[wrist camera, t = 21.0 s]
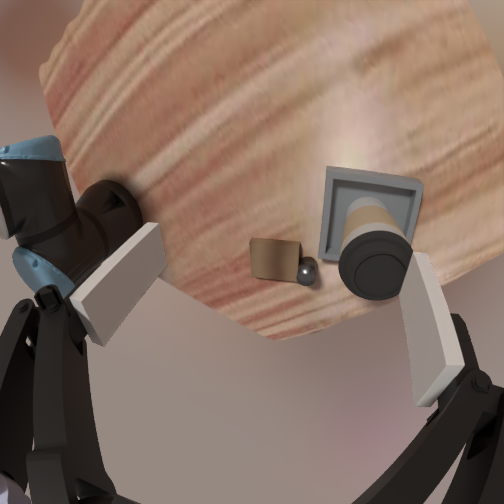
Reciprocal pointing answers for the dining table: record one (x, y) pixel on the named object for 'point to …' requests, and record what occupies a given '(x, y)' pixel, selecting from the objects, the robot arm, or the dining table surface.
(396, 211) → the tray
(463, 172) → the dining table surface
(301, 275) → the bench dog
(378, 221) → the coffee cup
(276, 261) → the board
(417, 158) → the dining table surface
